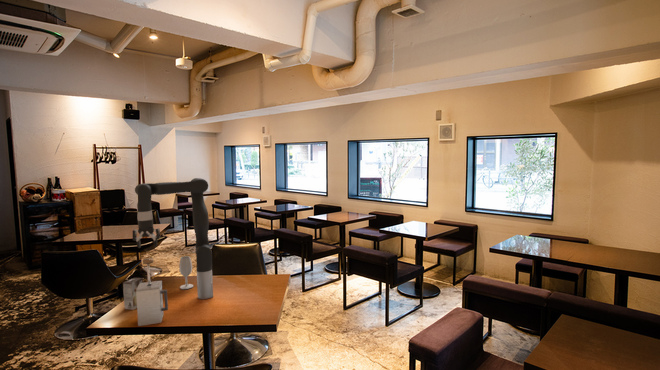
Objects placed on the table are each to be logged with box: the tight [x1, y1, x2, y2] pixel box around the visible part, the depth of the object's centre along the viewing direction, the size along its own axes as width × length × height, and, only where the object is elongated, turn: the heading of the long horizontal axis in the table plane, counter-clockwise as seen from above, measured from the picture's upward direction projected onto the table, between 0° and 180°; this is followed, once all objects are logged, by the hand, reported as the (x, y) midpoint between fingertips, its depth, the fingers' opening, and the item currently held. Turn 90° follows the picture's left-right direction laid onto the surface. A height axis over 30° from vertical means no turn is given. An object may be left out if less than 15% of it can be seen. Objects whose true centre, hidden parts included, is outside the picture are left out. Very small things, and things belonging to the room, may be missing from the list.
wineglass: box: [178, 255, 194, 290], centre depth 241 cm, size 9×9×21 cm
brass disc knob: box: [142, 257, 154, 286], centre depth 191 cm, size 8×8×20 cm
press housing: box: [136, 280, 169, 327], centre depth 193 cm, size 14×11×20 cm
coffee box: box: [122, 277, 144, 310], centre depth 211 cm, size 9×6×16 cm
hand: (147, 247), depth 201 cm, fingers open, 8 cm apart
